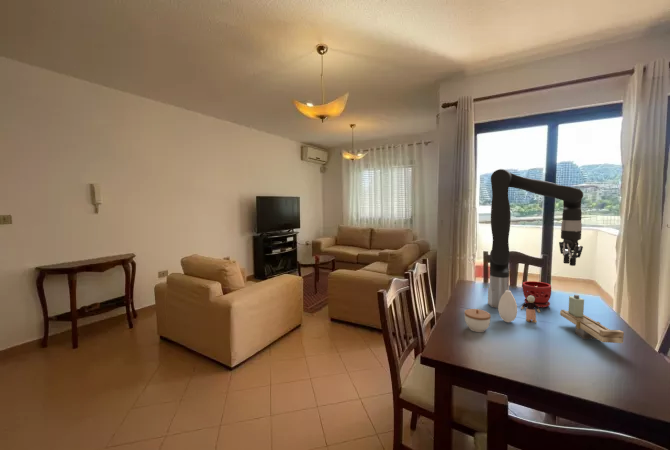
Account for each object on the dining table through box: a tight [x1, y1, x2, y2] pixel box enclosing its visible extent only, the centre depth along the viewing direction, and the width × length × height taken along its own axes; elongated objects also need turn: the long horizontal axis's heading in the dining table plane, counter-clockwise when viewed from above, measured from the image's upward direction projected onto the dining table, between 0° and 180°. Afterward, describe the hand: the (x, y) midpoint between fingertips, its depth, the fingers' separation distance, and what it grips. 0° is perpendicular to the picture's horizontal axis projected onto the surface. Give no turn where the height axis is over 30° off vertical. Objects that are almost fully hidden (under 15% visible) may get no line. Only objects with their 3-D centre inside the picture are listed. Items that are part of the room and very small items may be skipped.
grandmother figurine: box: [520, 296, 541, 323], centre depth 137 cm, size 8×4×13 cm, turn 65°
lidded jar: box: [464, 308, 492, 333], centre depth 130 cm, size 11×11×9 cm
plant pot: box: [522, 280, 552, 308], centre depth 157 cm, size 13×13×12 cm
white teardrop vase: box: [497, 285, 518, 323], centre depth 136 cm, size 8×8×18 cm
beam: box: [559, 309, 625, 344], centre depth 121 cm, size 8×26×8 cm, turn 171°
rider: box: [567, 294, 585, 317], centre depth 128 cm, size 4×4×9 cm
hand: (569, 264), depth 137 cm, fingers open, 4 cm apart
